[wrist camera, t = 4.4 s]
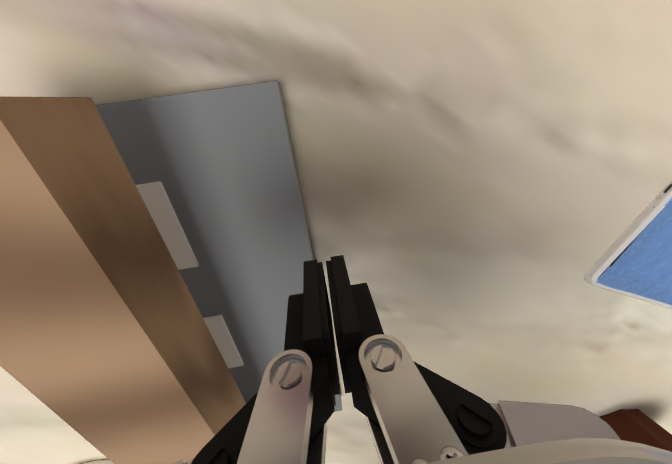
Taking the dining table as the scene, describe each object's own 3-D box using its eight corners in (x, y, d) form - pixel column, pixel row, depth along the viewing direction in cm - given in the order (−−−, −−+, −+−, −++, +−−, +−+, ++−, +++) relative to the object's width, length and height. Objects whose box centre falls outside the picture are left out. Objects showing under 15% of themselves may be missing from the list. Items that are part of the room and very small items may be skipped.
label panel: (340, 396, 24) (347, 450, 21) (148, 431, 24) (119, 493, 20) (279, 82, 12) (267, 75, 8) (-120, 136, 11) (-323, 153, 8)
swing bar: (279, 468, 20) (275, 524, 18) (215, 481, 20) (202, 539, 17) (91, 97, 8) (-17, 96, 5) (-77, 119, 8) (-274, 130, 5)
